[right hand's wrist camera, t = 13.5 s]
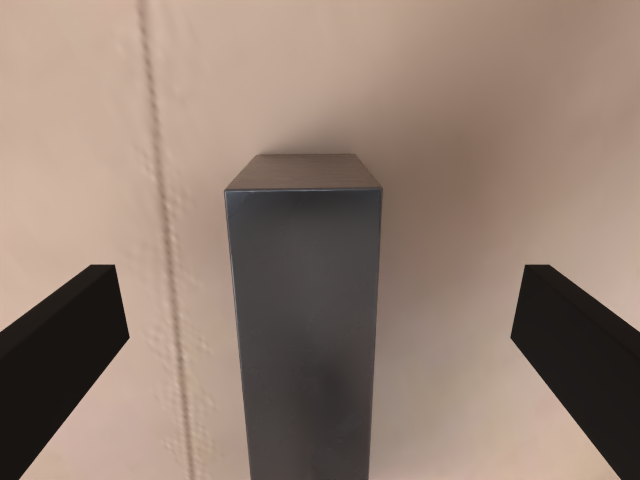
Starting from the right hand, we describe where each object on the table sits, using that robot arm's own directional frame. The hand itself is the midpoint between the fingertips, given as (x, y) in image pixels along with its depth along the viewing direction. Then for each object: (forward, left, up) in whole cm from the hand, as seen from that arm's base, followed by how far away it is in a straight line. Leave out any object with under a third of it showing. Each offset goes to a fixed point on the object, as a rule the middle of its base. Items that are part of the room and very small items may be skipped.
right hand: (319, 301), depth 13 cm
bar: (+2, +10, -11) cm, 15 cm away
